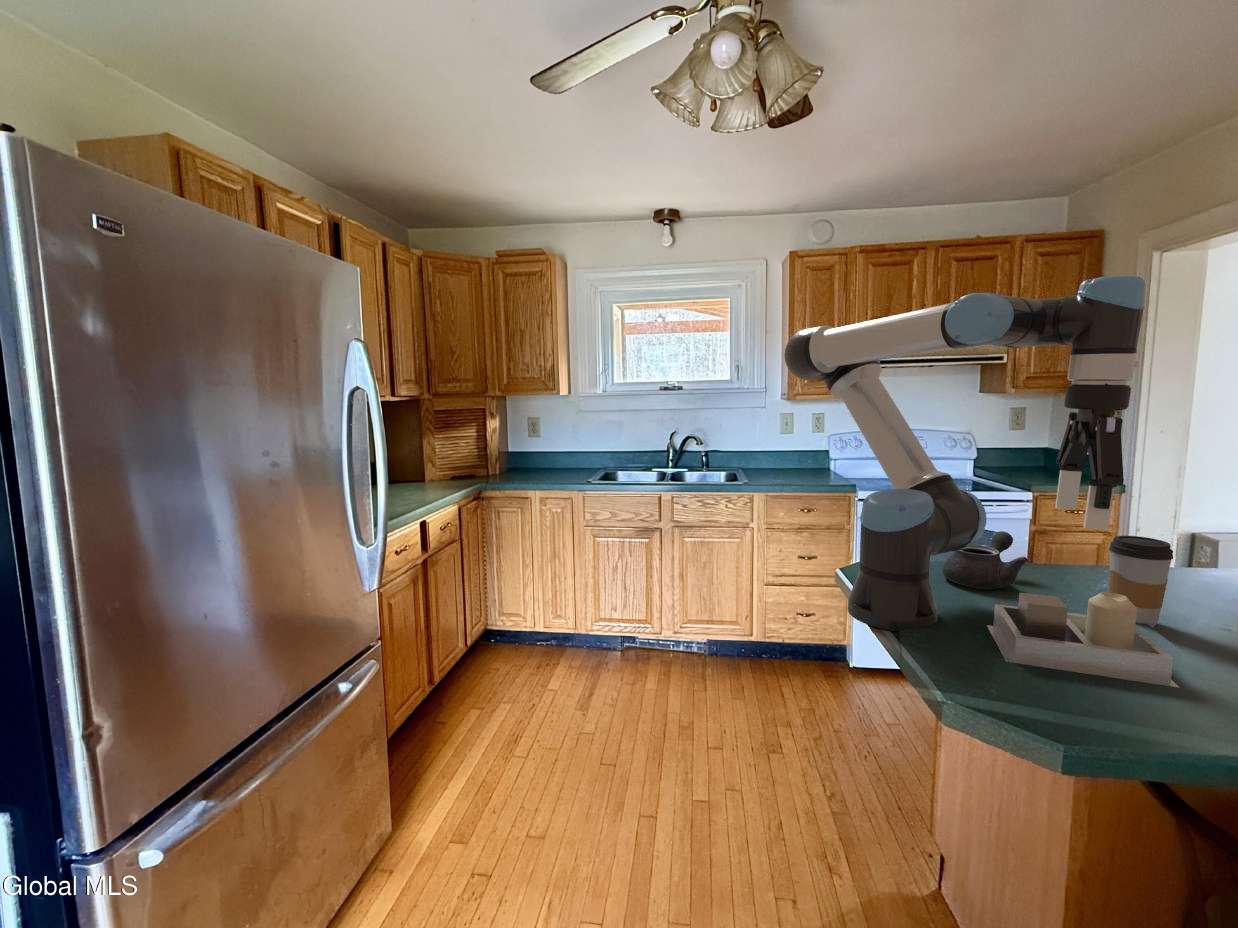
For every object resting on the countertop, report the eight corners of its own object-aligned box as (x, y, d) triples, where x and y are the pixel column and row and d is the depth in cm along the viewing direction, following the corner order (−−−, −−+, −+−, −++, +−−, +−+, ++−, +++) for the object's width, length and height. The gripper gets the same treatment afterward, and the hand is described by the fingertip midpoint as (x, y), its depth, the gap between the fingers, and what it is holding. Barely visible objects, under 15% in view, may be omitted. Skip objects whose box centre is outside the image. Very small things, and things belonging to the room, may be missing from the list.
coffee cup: (1178, 632, 94) (1188, 548, 92) (1121, 629, 96) (1130, 546, 94) (1142, 613, 102) (1151, 535, 100) (1091, 610, 104) (1099, 534, 102)
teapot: (1017, 601, 109) (1021, 553, 108) (933, 582, 120) (936, 538, 119) (1040, 579, 121) (1044, 535, 120) (962, 563, 133) (964, 523, 132)
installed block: (1023, 651, 86) (1027, 603, 85) (1015, 638, 91) (1019, 592, 90) (1063, 657, 84) (1067, 607, 83) (1052, 643, 89) (1056, 596, 88)
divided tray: (1005, 667, 83) (1008, 636, 83) (986, 630, 96) (988, 603, 95) (1178, 694, 75) (1183, 659, 75) (1132, 649, 88) (1135, 620, 88)
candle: (1107, 667, 81) (1114, 602, 80) (1073, 649, 86) (1079, 589, 85) (1141, 664, 81) (1148, 600, 80) (1105, 647, 87) (1112, 587, 86)
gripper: (1171, 384, 71) (1146, 542, 74) (1098, 382, 93) (1081, 503, 96) (1098, 384, 74) (1076, 536, 77) (1044, 382, 96) (1029, 499, 99)
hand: (1079, 518), depth 87 cm, fingers open, 13 cm apart
